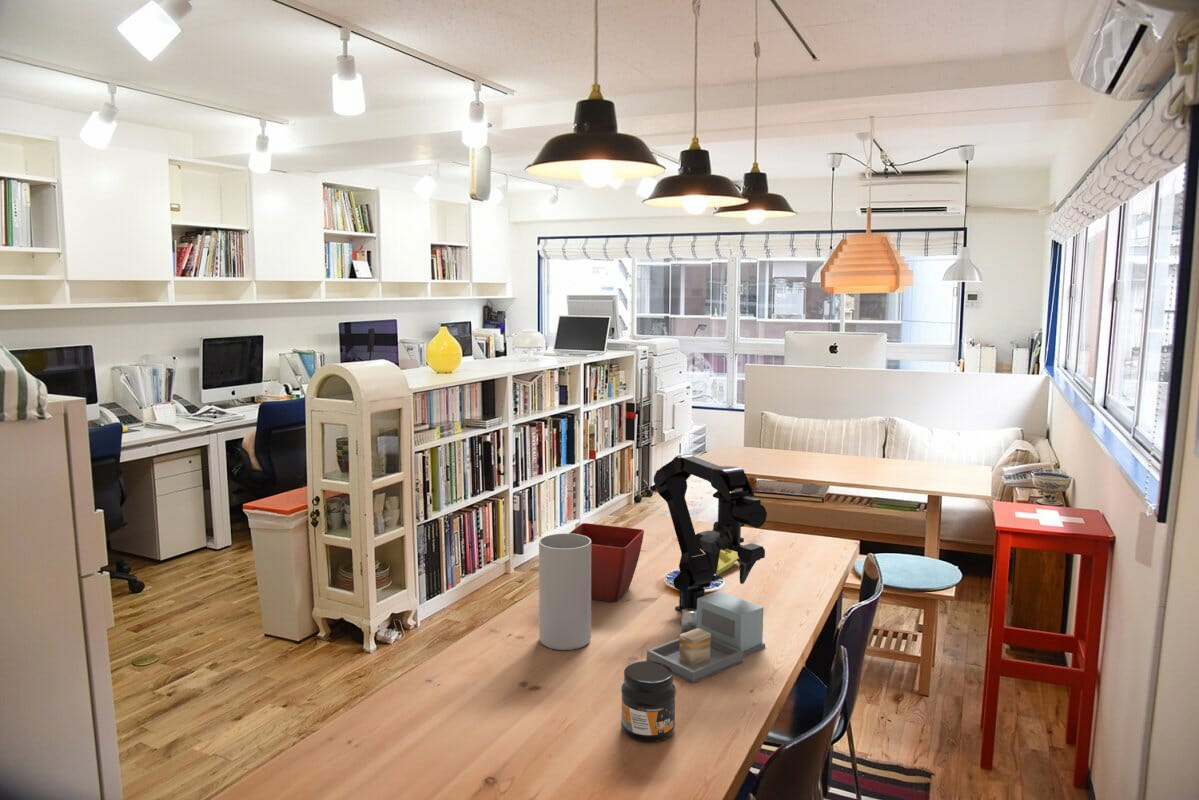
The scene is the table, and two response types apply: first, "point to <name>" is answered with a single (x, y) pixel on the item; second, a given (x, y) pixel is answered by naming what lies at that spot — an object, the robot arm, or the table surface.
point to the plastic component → (726, 560)
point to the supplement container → (648, 701)
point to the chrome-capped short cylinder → (688, 619)
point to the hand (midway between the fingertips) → (727, 578)
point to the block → (694, 646)
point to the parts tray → (719, 661)
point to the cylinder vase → (565, 591)
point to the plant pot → (611, 558)
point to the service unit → (731, 621)
